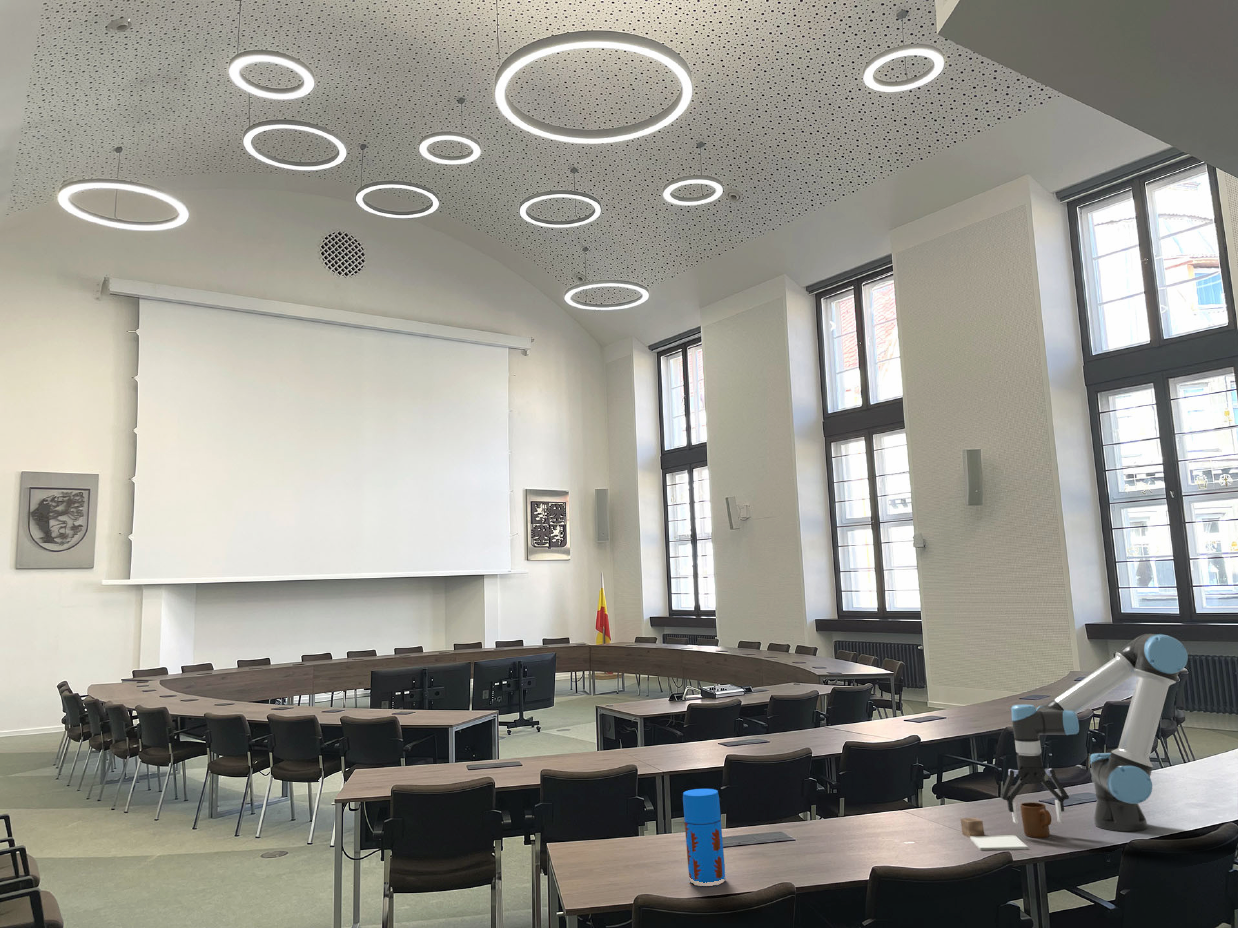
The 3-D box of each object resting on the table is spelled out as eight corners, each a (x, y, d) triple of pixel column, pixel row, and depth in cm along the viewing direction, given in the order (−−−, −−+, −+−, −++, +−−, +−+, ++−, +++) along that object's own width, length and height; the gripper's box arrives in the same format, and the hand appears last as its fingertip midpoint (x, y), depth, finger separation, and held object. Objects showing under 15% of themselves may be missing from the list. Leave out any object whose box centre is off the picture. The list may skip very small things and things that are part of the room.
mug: (1064, 839, 265) (1059, 808, 267) (1042, 842, 264) (1038, 810, 265) (1040, 831, 276) (1035, 801, 278) (1019, 833, 275) (1015, 803, 277)
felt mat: (1015, 837, 271) (1015, 835, 271) (1028, 849, 258) (1028, 846, 258) (970, 838, 273) (969, 836, 274) (980, 850, 260) (980, 847, 260)
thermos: (723, 874, 253) (715, 787, 258) (728, 885, 243) (721, 794, 247) (687, 877, 253) (680, 790, 257) (691, 888, 242) (684, 797, 247)
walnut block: (976, 833, 280) (974, 817, 281) (984, 836, 275) (982, 820, 276) (962, 834, 279) (960, 818, 280) (970, 838, 274) (967, 821, 275)
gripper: (1065, 750, 277) (1074, 819, 273) (985, 752, 281) (993, 819, 277) (1073, 754, 269) (1083, 824, 265) (991, 756, 273) (1000, 825, 269)
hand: (1037, 822), depth 271 cm, fingers open, 13 cm apart
